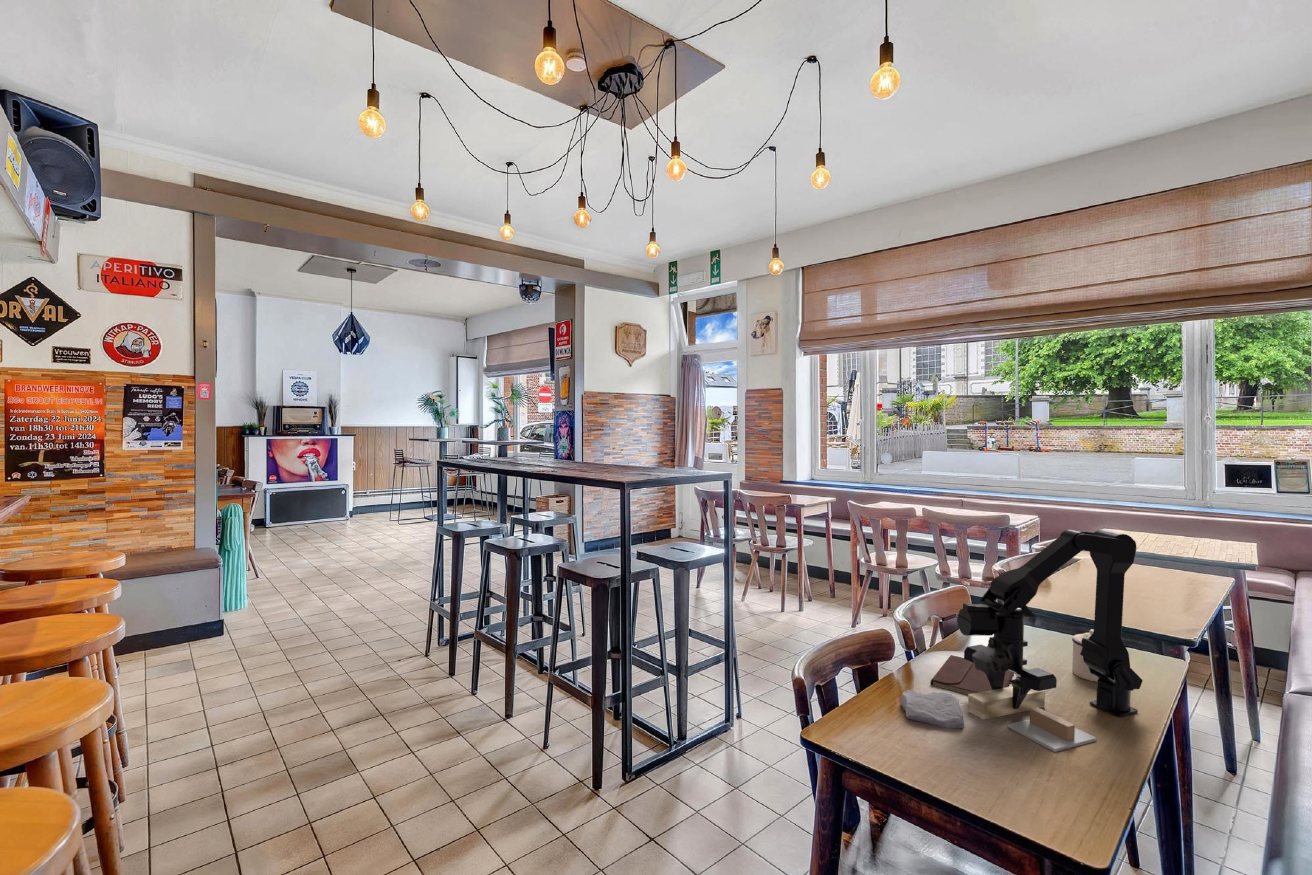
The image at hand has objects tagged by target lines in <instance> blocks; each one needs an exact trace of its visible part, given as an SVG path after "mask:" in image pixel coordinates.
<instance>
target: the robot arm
mask: <svg viewBox="0 0 1312 875" xmlns="http://www.w3.org/2000/svg"><path fill="white" fill-rule="evenodd" d="M1137 548H1138V547H1137V542H1136V540H1135V539H1133V537H1132V536H1130V535H1128V534H1126V533H1121V532H1118V531H1113V530H1109V529H1103V528H1101V529H1098V530H1095V531H1094V532H1093V531H1084V530H1073V529H1066V530H1064V531H1062V532H1061V533H1060V535H1059V536H1058V537H1057V538H1056V539H1054V540H1053V541H1052V542H1051V543H1049V544H1048V545H1047V546H1046V547H1045V548H1043V549H1042V550H1040V551H1039V552H1038V553H1037V554H1036V555H1034V556H1033V557H1032V558H1031V559H1029V560H1027V562H1026V563H1024V564H1022V565H1021V566H1019V567H1017V568H1014V569H1010V570H1007V571H1005V572H1003V573H1001V574H999V575H997V576H996V577H994V578H993V579H992V581H991V582H990V587H989V588H988V589H987V591H986V592H985V593H984V594H983V595H982V597H981V598H980V599H979V600H978V601H979V602H978V603H979V604H977V603H969V602H965V603H964V602H963V604H962V608H961V609H960V610H959V611H958V614H957V615H956V622H957V627H958V629H959V632H960V633H961V634H962V635H963V636H968V637H969V636H971V637H972V636H973V637H974V636H975V637H976V636H982V637H983V636H990V637H989V638H988V641H987V642H988V643H987V645H983V644H976V645H970V646H967V647H965V649H964V650H963V658H964V659H966V660H968V661H970V662H972V663H974V664H975V668H976V669H977V670H981V671H983V672H984V673H985V674H986V675H987V678H988V680H989V682H990V685H991V688H992V690H995V689H1000V688H1003V683H1004V677H1005V672H1006V671H1010V672H1012V673H1014V675H1015V679H1012V680H1009V682H1010V685H1011V686H1013V709H1018V708H1019V706H1020V705H1021V703H1022V702H1023V700H1024V698H1025V697H1026V695H1027V694H1028V692H1029V691H1030V690H1031V689H1033V690H1035V691H1043V690H1044V691H1046V690H1052V689H1056V688H1057V684H1058V683H1057V682H1058V680H1057V677H1056V676H1055V674H1054V673H1052V672H1049V671H1046V670H1044V669H1042V668H1040V667H1035V668H1030V669H1028V668H1025V667H1024V666H1026V665H1028V659H1026V658H1024V647H1025V648H1026V647H1028V646H1029V645H1028V642H1029V641H1027V640H1024V637H1025V636H1024V635H1025V634H1024V633H1025V618H1029V617H1030V618H1031V617H1032V618H1033V617H1035V613H1034V612H1032V611H1031V610H1030V608H1028V605H1029V603H1030V601H1032V600H1033V599H1034V598H1035V596H1037V592H1038V589H1039V587H1040V585H1041V584H1042V583H1043V582H1044V581H1046V580H1047V579H1048V578H1049V577H1051V576H1052V575H1053V574H1055V573H1056V572H1057V571H1058V570H1059V569H1061V568H1062V567H1063V566H1064V565H1066V564H1067V563H1068V562H1070V561H1071V560H1072V559H1074V558H1075V557H1076V556H1077V555H1079V553H1081V552H1082V551H1085V552H1087V551H1088V552H1089V555H1090V558H1091V560H1092V562H1093V564H1094V566H1095V568H1096V579H1095V580H1096V583H1095V584H1096V585H1095V586H1096V587H1095V602H1094V603H1095V604H1094V619H1093V620H1094V623H1093V624H1094V626H1093V629H1094V632H1093V634H1092V635H1091V636H1090V637H1089V638H1088V639H1086V638H1082V651H1081V653H1080V655H1082V656H1083V660H1084V663H1086V665H1087V666H1088V668H1089V671H1090V673H1091V674H1094V675H1096V676H1098V680H1097V682H1096V685H1097V687H1096V699H1094V700H1091V701H1089V705H1092V706H1093V707H1096V708H1099V709H1101V710H1103V711H1105V712H1108V713H1110V714H1113V715H1115V716H1117V717H1122V716H1127V715H1131V714H1135V713H1136V714H1137V713H1138V712H1139V711H1138V709H1137V708H1135V707H1132V706H1131V695H1132V694H1131V692H1132V691H1134V690H1140V689H1141V686H1142V684H1143V679H1142V678H1141V677H1140V676H1139V675H1138V674H1137V672H1136V671H1134V670H1133V669H1132V668H1131V662H1130V661H1131V660H1130V653H1129V650H1128V648H1127V647H1126V645H1125V642H1124V640H1123V638H1122V631H1123V630H1122V629H1123V612H1124V611H1123V610H1124V591H1125V588H1124V587H1125V575H1126V573H1127V571H1128V570H1129V569H1130V567H1131V566H1133V564H1134V562H1135V558H1136V553H1137ZM996 600H997V601H999V602H1001V603H1002V604H1001V603H999V602H997V601H996Z"/></svg>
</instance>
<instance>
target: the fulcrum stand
mask: <svg viewBox="0 0 1312 875" xmlns="http://www.w3.org/2000/svg"><path fill="white" fill-rule="evenodd" d="M1007 727H1008V728H1009V729H1010V730H1012V731H1015V733H1016V732H1017V733H1018V734H1020V735H1022V736H1024V737H1025V738H1027V739H1029V740H1031V741H1033V742H1035V743H1037V744H1039V745H1041V746H1043V747H1045V748H1046V749H1048V750H1051V751H1052V752H1054V753H1056V752H1061V751H1064V750H1067V749H1071V748H1075V747H1078V746H1083V745H1086V744H1089V743H1093V742H1097V737H1096V736H1094V735H1092V734H1090V733H1088V732H1085V731H1083V730H1081V729H1080V728H1079V729H1078V728H1077V727H1076V725H1075V724H1073V723H1072V722H1070V721H1067V720H1066V719H1063V718H1061V717H1058V716H1057V715H1055V714H1053V713H1050V712H1048V711H1046V710H1044V709H1043V708H1038V707H1035V708H1030V710H1029V718H1028V719H1026V720H1021V721H1018V722H1016V721H1015V722H1012V723H1009V724H1007Z"/></svg>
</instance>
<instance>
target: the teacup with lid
mask: <svg viewBox="0 0 1312 875" xmlns="http://www.w3.org/2000/svg"><path fill="white" fill-rule="evenodd" d="M1093 632H1094V628H1093V629H1092V628H1091V629H1090V630H1089V632H1084V633H1078V634H1074V635H1073V636H1072V638H1071V640H1072V665H1071V666H1072V667H1071V668H1072V669H1071V670H1072V671H1071V672H1072V673H1073V674H1074V675H1075V676H1077V677H1078V678H1081V679H1083V680H1086V681H1090V682H1094V681H1095V682H1094V683H1097V680H1098V676H1096V675H1094V674H1091V673H1090V671H1089V668H1088V666H1087V665H1086V663H1084V660H1083V656H1082V655H1080V653H1081V651H1082V638H1086V639H1088V638H1089V637H1090V636H1091V635H1092V634H1093Z"/></svg>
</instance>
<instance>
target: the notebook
mask: <svg viewBox="0 0 1312 875" xmlns="http://www.w3.org/2000/svg"><path fill="white" fill-rule="evenodd" d="M1014 675H1015V674H1014V673H1012V672H1010V671H1006V672H1005V677H1004V683H1003V688H1006V687H1010V686H1009V685H1011V683H1010V682H1009V680H1013V677H1014ZM929 684H930V686H932V685H933V686H934V687H939V688H941V689H946V690H950V691H954V692H958V693H962V694H964V695H968V694H972V693H978V692H984V691H989V690H992V688H991V685H990V682H989V680H988V678H987V675H986V674H985V673H984V672H983V671H981V670H977V669H976V668H975V664H974V663H972V662H970V661H968V660H966V659H964V657H961V656H957V655H952V654H951V655H949V657H948V658H947V659H946V660H945V662H944V663H943V664H942V665H941V667H940V668H939V670H938V671H937V672H936V673H935V674H934V676H933V677H932V678H931V680H930V683H929Z"/></svg>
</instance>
